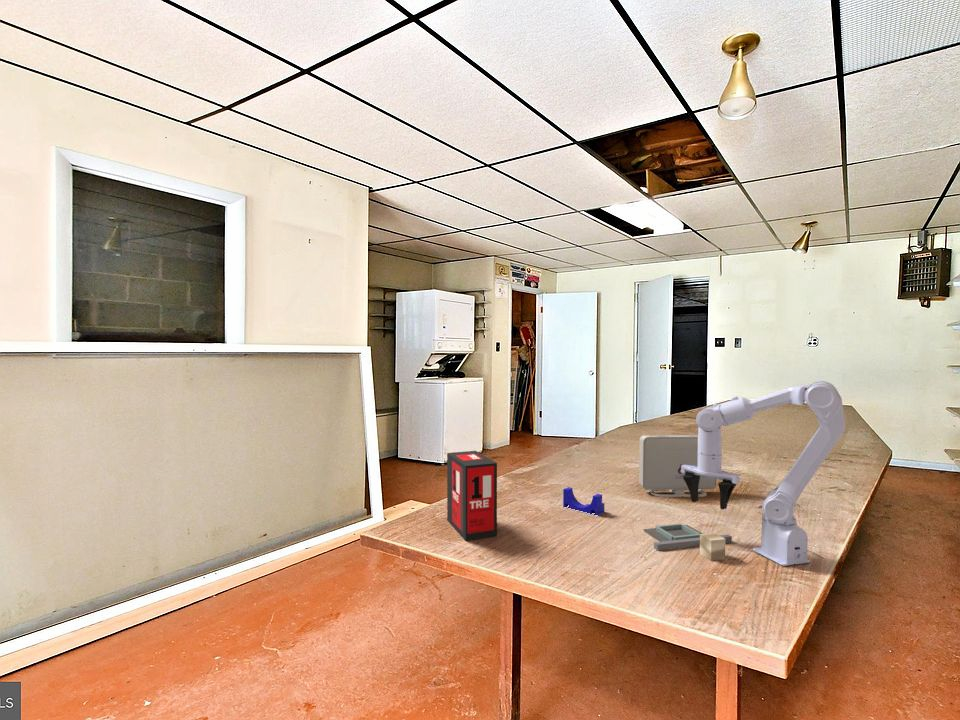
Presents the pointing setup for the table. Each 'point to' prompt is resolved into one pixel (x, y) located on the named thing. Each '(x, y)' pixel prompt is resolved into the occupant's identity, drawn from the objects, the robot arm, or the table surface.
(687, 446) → the network device
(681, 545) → the rail
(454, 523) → the cleaning product box
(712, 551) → the block
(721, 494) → the robot arm
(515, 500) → the table surface
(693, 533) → the keeper cradle
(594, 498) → the blue notched block
